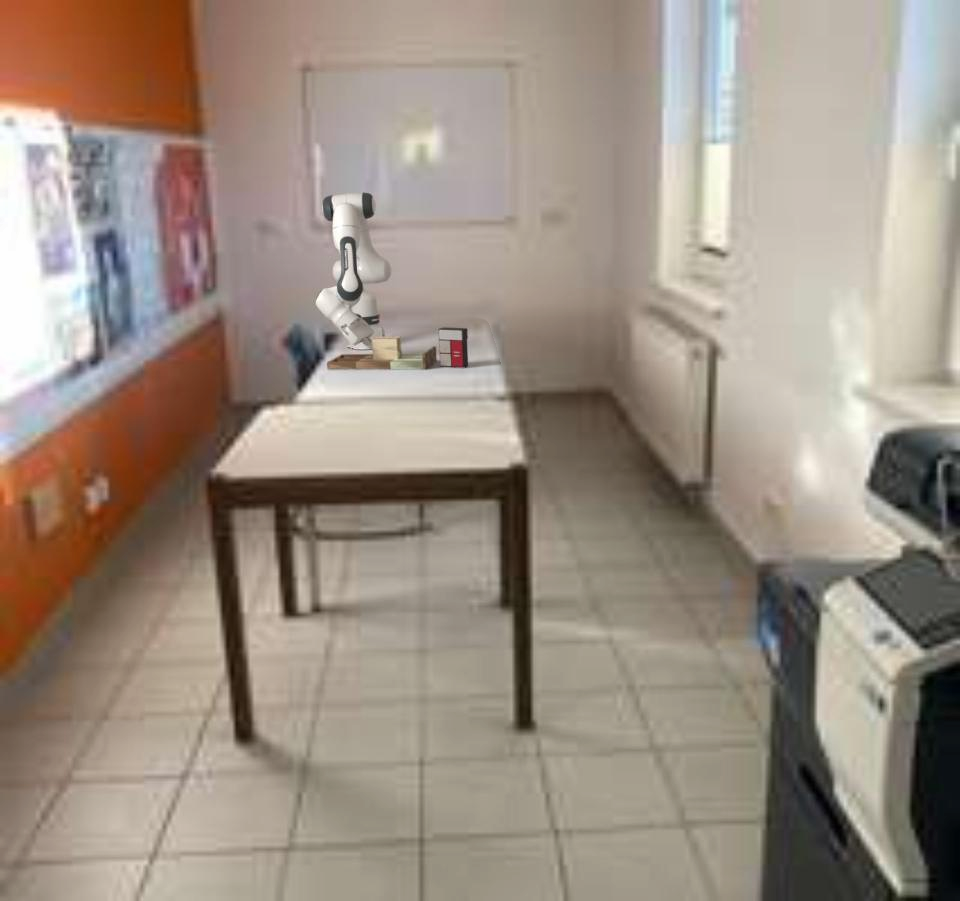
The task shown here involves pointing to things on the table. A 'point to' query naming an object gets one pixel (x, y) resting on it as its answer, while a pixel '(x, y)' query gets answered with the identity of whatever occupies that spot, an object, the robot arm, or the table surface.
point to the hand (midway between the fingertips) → (373, 347)
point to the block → (386, 348)
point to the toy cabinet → (453, 347)
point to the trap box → (383, 361)
